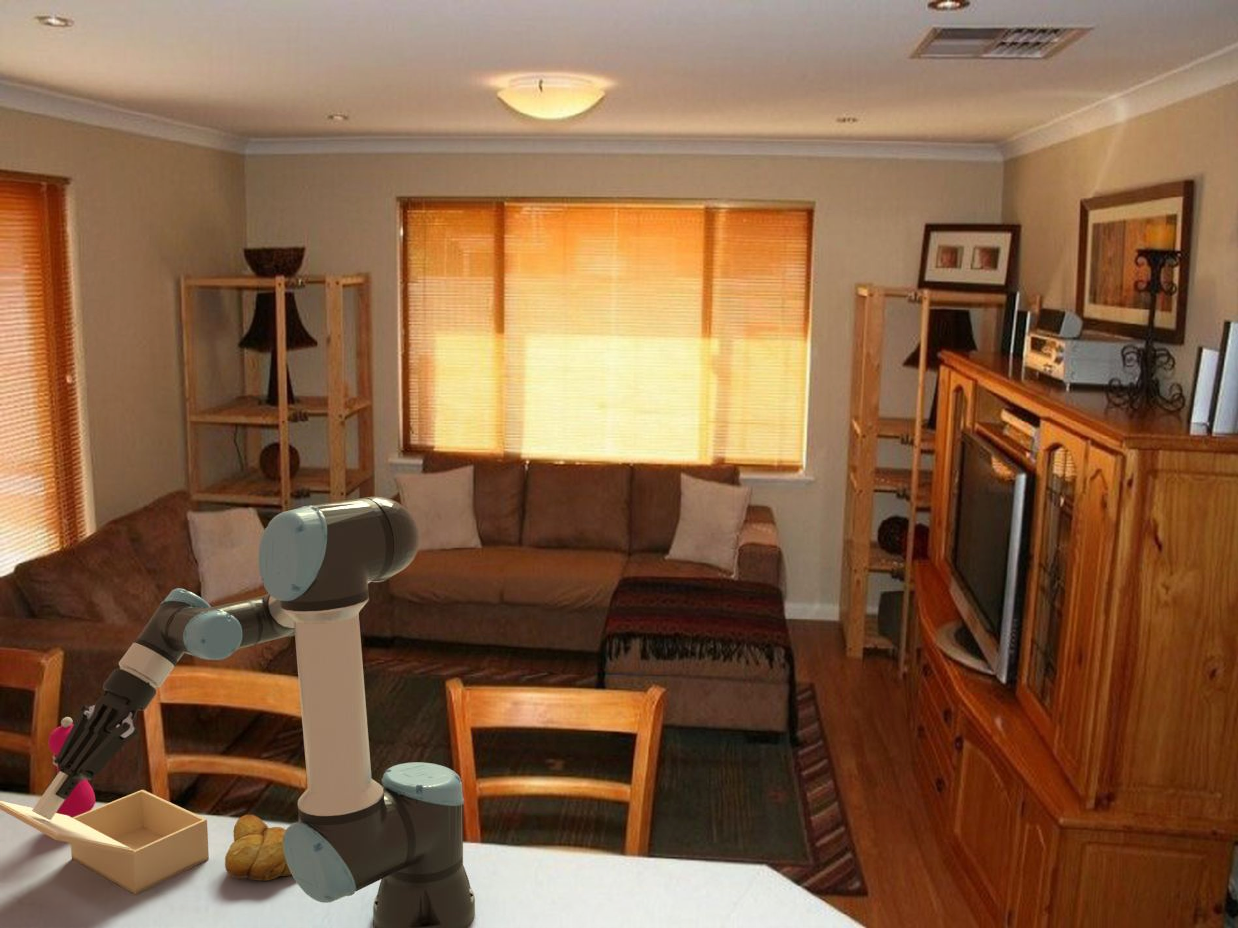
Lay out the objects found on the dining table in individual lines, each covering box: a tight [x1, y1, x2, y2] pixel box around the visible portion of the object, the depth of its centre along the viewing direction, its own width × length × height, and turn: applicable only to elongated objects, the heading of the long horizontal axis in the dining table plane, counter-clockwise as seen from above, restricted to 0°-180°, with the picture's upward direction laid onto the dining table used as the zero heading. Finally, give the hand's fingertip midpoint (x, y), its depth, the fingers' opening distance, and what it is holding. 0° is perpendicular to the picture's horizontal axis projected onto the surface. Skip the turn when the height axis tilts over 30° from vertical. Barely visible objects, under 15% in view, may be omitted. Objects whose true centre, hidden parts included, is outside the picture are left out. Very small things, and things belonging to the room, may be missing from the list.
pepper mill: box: [47, 716, 96, 818], centre depth 186 cm, size 7×7×20 cm
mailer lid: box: [0, 800, 134, 855], centre depth 166 cm, size 19×14×1 cm
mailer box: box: [70, 789, 210, 895], centre depth 177 cm, size 18×13×7 cm
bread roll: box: [224, 814, 292, 881], centre depth 174 cm, size 13×10×8 cm
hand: (41, 815), depth 163 cm, fingers closed
